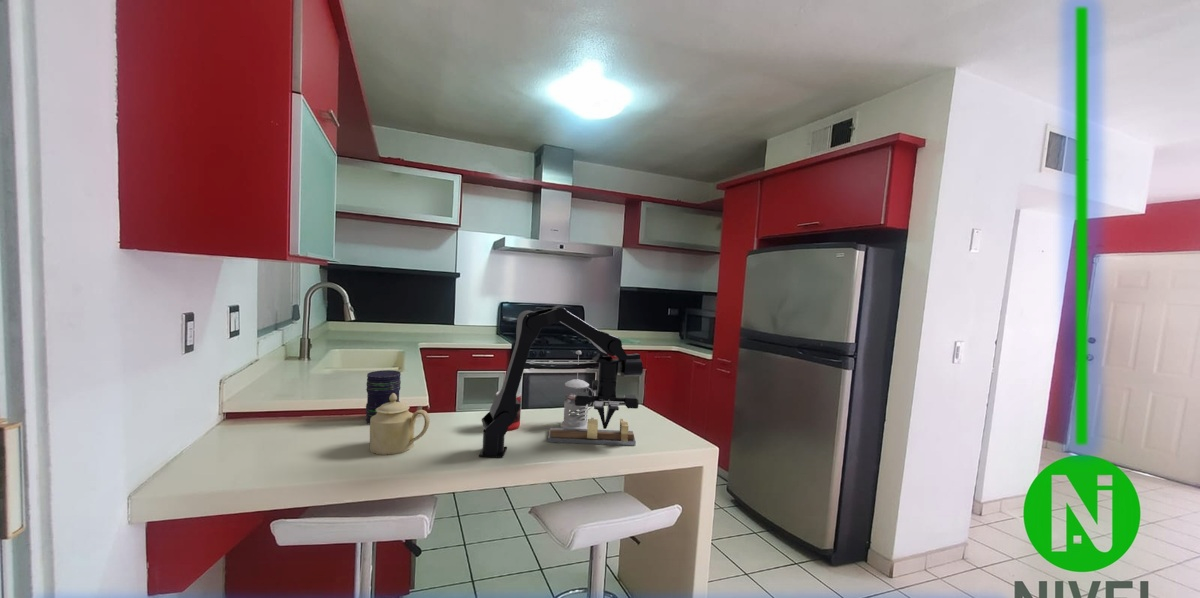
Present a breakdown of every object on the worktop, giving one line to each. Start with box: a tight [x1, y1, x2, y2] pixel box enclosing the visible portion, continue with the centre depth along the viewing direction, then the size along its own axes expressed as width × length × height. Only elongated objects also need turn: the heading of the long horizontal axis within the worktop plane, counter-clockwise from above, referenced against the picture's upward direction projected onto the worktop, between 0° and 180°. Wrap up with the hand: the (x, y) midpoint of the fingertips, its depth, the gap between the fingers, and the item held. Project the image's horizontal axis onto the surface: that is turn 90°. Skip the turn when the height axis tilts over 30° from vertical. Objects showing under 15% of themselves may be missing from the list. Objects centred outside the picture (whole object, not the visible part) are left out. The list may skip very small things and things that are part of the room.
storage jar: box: [365, 369, 402, 425], centre depth 142 cm, size 10×10×15 cm
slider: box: [587, 416, 599, 439], centre depth 134 cm, size 7×3×5 cm, turn 2°
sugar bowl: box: [369, 393, 431, 456], centre depth 121 cm, size 15×11×15 cm
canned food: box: [495, 390, 522, 432], centre depth 141 cm, size 8×8×11 cm
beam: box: [549, 418, 635, 441], centre depth 134 cm, size 7×25×5 cm, turn 92°
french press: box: [560, 350, 596, 429], centre depth 146 cm, size 10×12×25 cm
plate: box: [547, 427, 637, 446], centre depth 135 cm, size 9×26×1 cm, turn 92°
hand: (604, 428), depth 133 cm, fingers closed
